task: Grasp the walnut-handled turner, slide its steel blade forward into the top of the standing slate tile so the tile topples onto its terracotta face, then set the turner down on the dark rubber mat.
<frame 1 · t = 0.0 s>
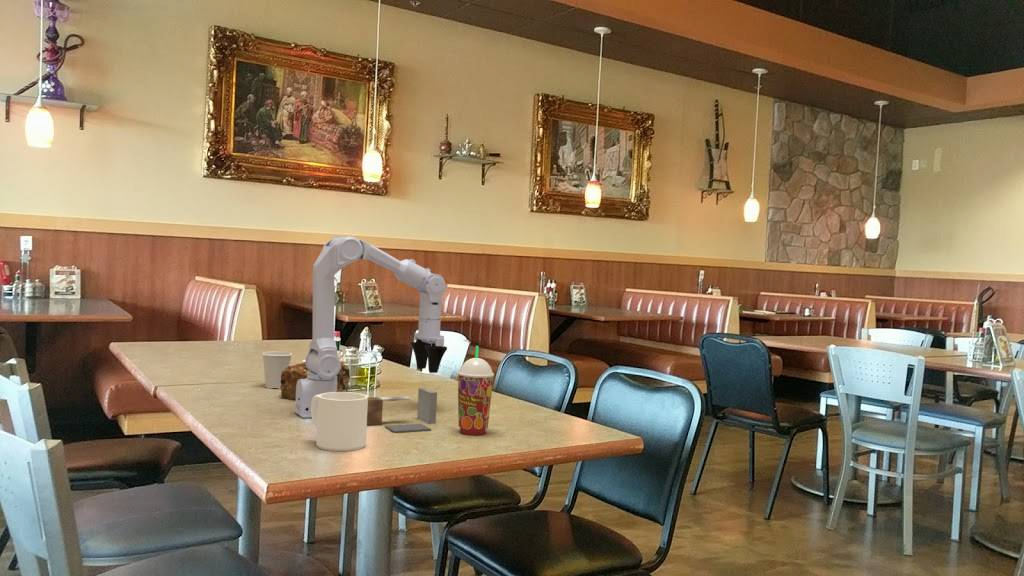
hand: (427, 370, 204), 10 cm above the table, fingers open, 7 cm apart
mug: (335, 445, 161), on the table
turner: (371, 424, 182), on the table
mat: (407, 429, 179), on the table
dixie cup: (275, 388, 225), on the table
bread: (315, 397, 215), on the table
tile: (426, 420, 190), on the table
smoothie: (472, 433, 179), on the table
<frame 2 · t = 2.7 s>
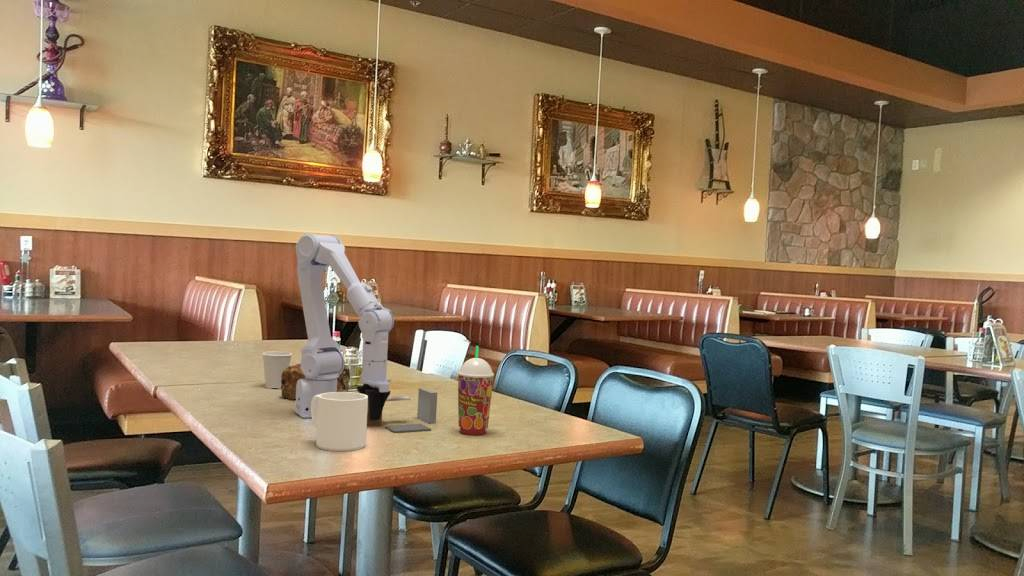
hand: (371, 417, 182), 1 cm above the table, fingers closed on turner, 4 cm apart
turner: (371, 424, 182), on the table, touching gripper
everything else where it was.
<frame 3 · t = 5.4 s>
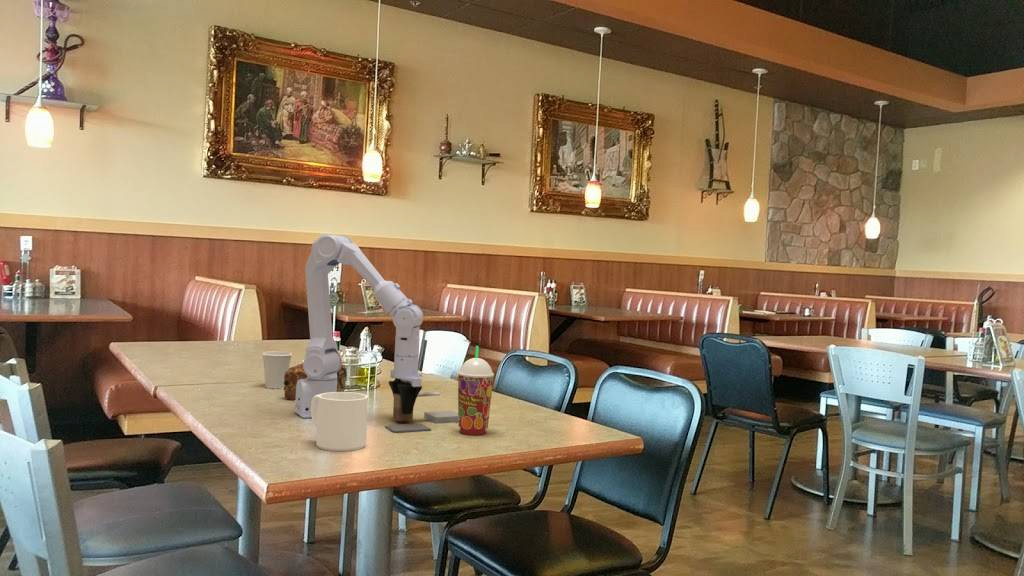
hand: (403, 412, 186), 2 cm above the table, fingers closed on turner, 4 cm apart
turner: (402, 419, 186), point 1 cm above the table, touching gripper
tile: (430, 418, 190), point 1 cm above the table, tilted 90°
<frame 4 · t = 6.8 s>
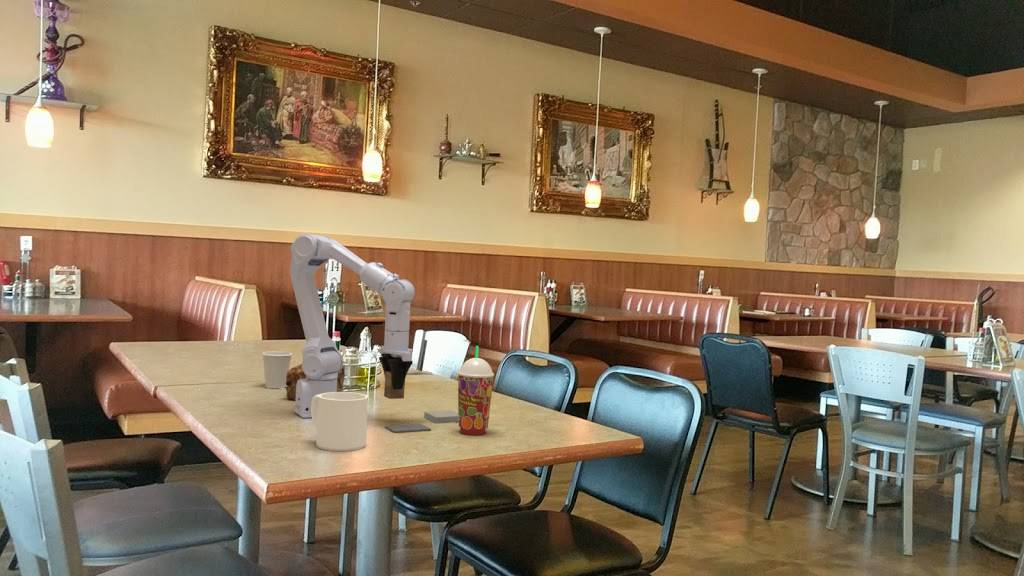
hand: (394, 387, 184), 8 cm above the table, fingers closed on turner, 4 cm apart
turner: (393, 397, 185), point 6 cm above the table, touching gripper
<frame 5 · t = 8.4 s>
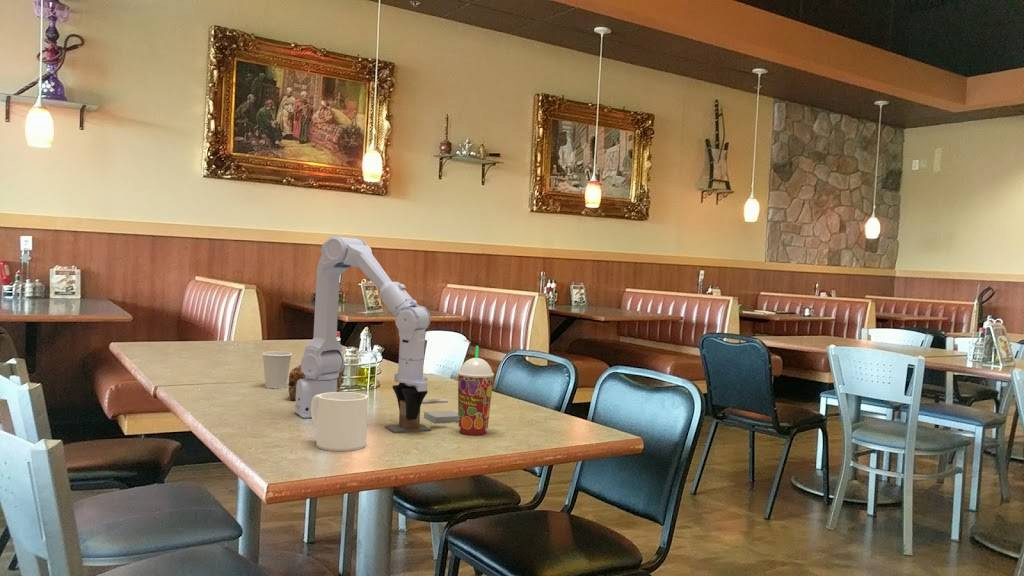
hand: (408, 417, 179), 3 cm above the table, fingers closed on turner, 3 cm apart
turner: (409, 427, 179), on the table, touching gripper, mat
when the fingers open (3 cm above the table, at t = 8.7 s): turner stays where it is, resting on mat.
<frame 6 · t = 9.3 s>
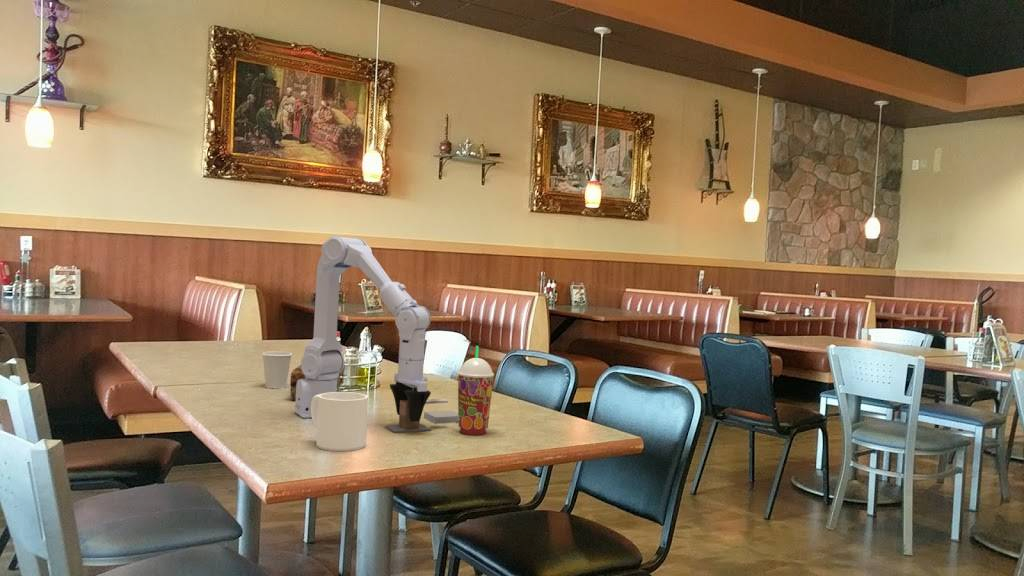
hand: (408, 417, 179), 3 cm above the table, fingers open, 7 cm apart
turner: (409, 427, 179), resting on mat
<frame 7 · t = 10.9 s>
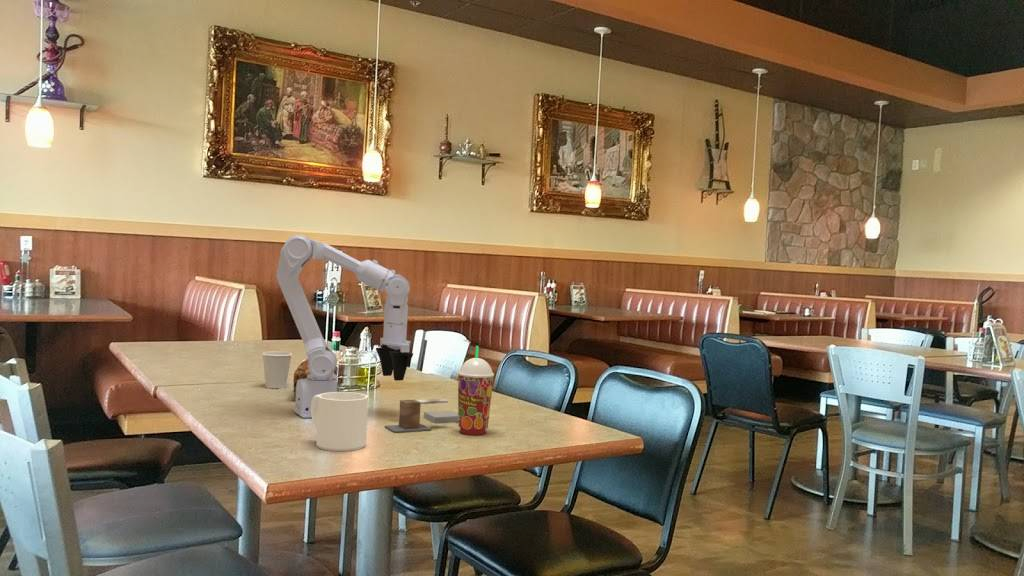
hand: (392, 378, 193), 9 cm above the table, fingers open, 7 cm apart
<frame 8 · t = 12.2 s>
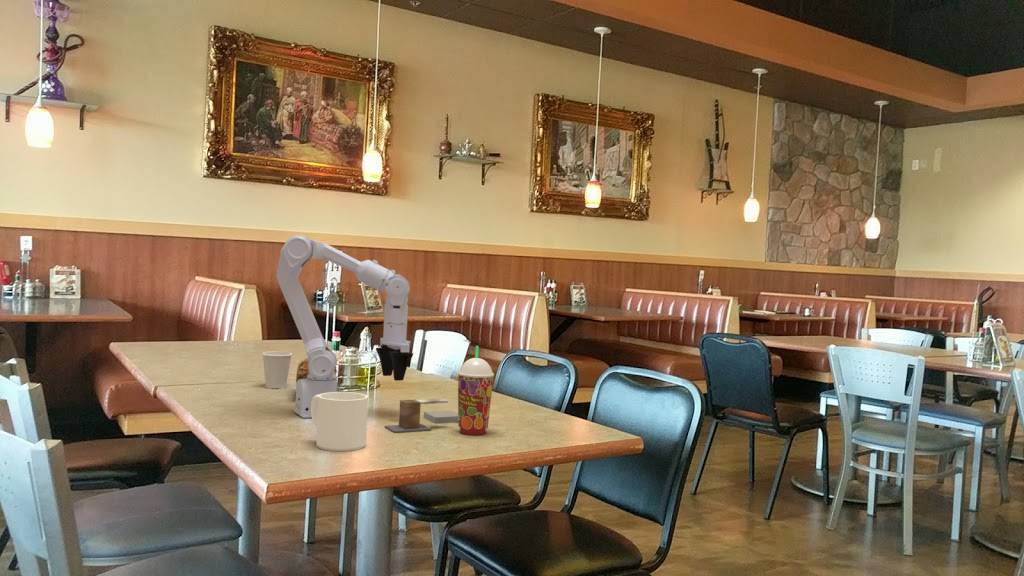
hand: (392, 378, 193), 9 cm above the table, fingers open, 7 cm apart
at the end: tile tilted 90°; turner inside the target area on the mat (0.3 cm from its centre), point 0.4 cm above the mat's base; the gripper is holding nothing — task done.
